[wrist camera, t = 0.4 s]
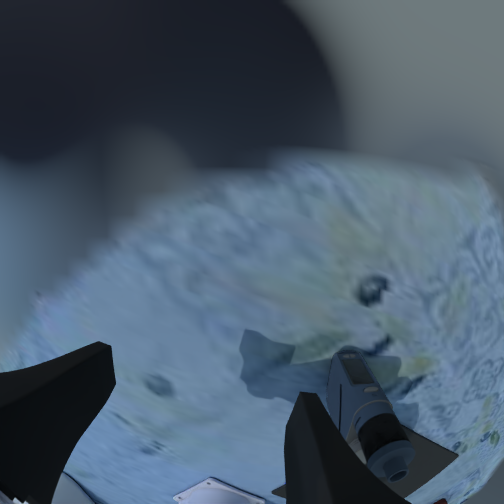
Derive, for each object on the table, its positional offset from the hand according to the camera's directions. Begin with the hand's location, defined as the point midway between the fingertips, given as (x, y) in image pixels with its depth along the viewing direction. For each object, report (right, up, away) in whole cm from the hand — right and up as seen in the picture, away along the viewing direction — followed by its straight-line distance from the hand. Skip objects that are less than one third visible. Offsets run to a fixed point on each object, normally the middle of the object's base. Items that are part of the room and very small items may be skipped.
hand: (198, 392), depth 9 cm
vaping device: (+9, -5, +11) cm, 15 cm away
